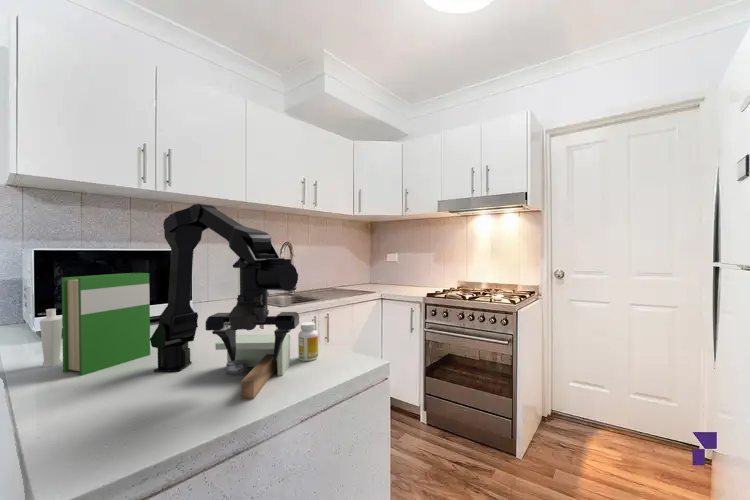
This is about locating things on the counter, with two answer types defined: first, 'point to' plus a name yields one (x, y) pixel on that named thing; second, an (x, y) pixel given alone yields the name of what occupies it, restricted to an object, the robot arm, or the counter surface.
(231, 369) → the steel puck
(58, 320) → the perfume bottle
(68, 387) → the counter surface
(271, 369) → the walnut bar
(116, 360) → the hardback book
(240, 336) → the sage shelf
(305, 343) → the supplement bottle
